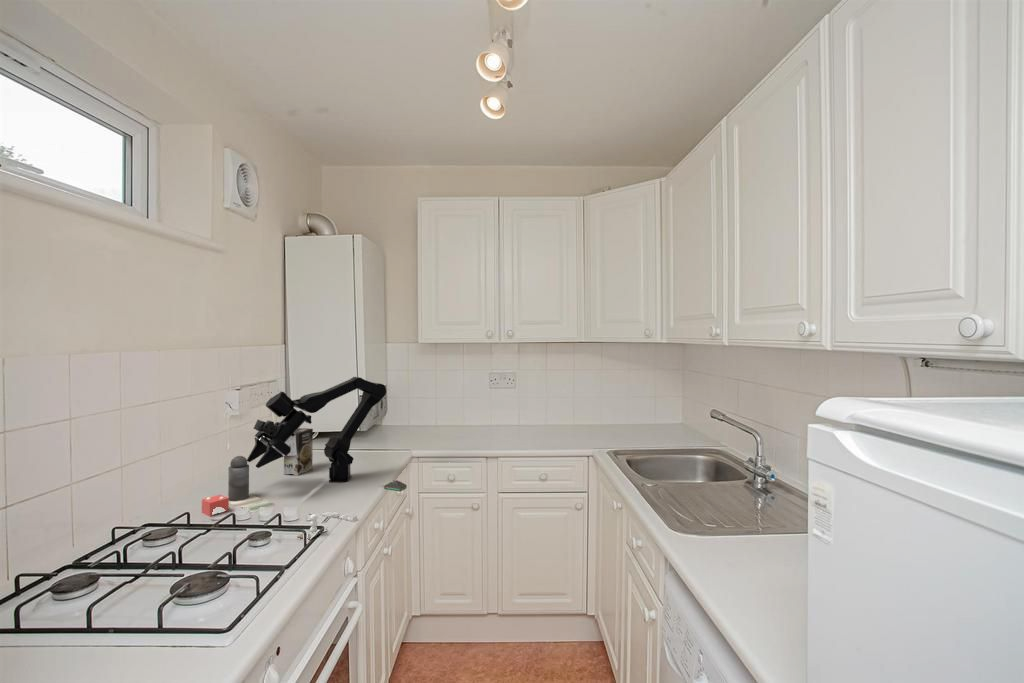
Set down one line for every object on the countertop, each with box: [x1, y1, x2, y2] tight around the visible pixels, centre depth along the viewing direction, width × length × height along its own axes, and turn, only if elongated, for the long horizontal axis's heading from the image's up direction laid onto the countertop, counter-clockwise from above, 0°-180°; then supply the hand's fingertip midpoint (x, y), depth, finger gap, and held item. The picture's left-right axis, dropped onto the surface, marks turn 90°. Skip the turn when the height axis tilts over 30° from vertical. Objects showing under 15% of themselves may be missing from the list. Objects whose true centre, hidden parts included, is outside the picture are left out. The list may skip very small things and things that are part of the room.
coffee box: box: [283, 427, 314, 476], centre depth 178 cm, size 9×6×16 cm
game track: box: [229, 493, 277, 513], centre depth 142 cm, size 20×11×1 cm, turn 56°
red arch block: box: [201, 494, 230, 517], centre depth 134 cm, size 5×5×6 cm
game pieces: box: [296, 479, 407, 541], centre depth 141 cm, size 45×13×6 cm, turn 159°
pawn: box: [227, 455, 250, 502], centre depth 145 cm, size 6×6×13 cm
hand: (252, 464), depth 148 cm, fingers open, 9 cm apart
